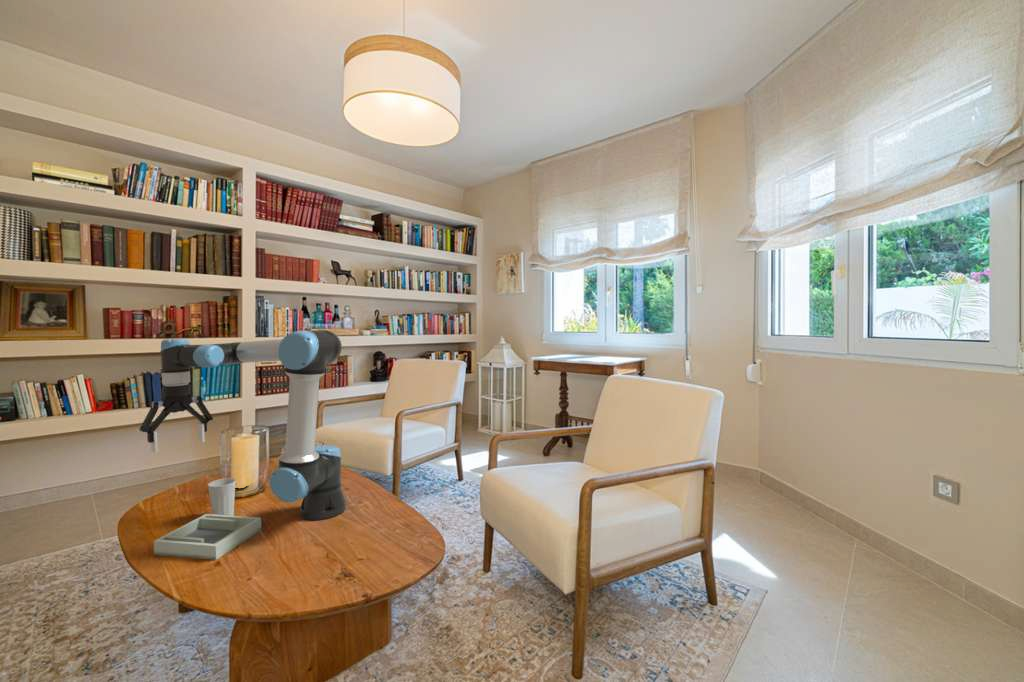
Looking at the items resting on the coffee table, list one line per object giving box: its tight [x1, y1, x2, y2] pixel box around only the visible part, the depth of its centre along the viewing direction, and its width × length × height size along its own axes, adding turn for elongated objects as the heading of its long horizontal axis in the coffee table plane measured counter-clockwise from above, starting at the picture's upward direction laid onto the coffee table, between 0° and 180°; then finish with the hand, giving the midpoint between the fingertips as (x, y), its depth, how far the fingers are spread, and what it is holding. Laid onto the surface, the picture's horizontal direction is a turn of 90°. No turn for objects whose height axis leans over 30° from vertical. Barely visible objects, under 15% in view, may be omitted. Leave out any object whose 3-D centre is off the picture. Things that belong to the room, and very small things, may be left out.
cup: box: [207, 478, 236, 516], centre depth 150 cm, size 8×8×12 cm
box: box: [153, 513, 262, 561], centre depth 133 cm, size 20×18×4 cm
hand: (179, 446), depth 147 cm, fingers open, 13 cm apart
